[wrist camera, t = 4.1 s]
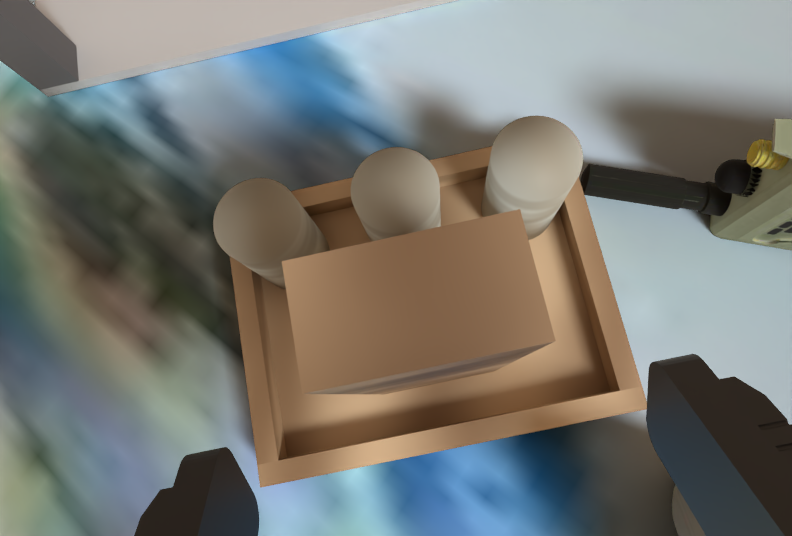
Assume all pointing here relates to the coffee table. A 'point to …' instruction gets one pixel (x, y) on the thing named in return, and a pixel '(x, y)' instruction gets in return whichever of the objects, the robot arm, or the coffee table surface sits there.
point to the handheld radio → (719, 191)
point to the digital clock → (684, 517)
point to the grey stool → (159, 33)
